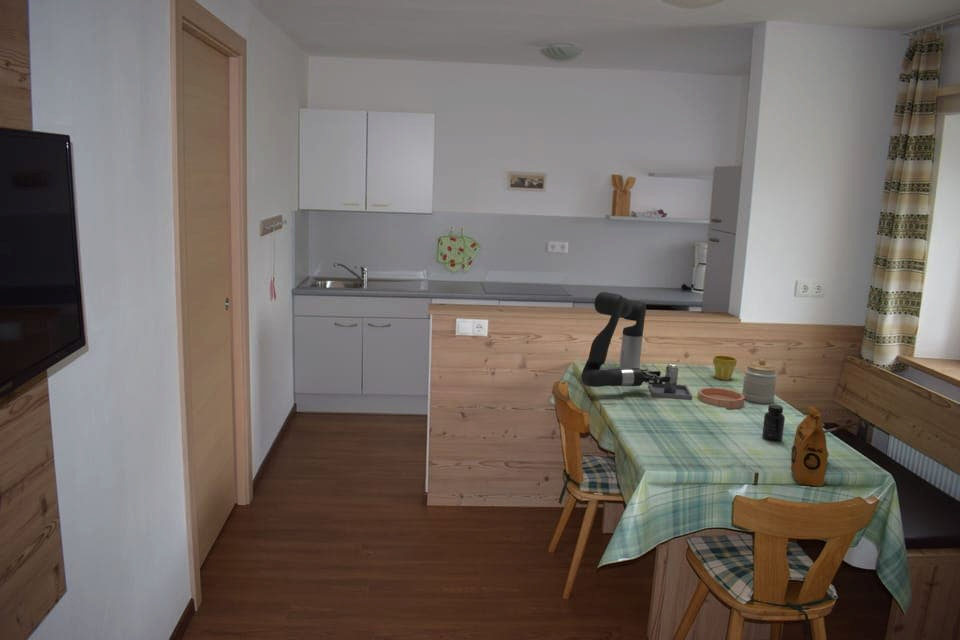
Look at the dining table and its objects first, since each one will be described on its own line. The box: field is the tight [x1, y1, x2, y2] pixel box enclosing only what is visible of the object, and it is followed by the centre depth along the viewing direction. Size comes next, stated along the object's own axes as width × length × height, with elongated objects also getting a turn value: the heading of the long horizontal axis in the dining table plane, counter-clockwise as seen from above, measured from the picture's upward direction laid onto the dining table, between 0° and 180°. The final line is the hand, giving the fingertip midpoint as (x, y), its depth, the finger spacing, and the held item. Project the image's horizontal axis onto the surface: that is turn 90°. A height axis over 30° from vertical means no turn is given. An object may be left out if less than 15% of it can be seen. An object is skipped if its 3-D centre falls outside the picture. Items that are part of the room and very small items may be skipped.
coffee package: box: [790, 405, 829, 488], centre depth 233 cm, size 10×12×22 cm
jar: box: [741, 358, 778, 404], centre depth 319 cm, size 13×13×18 cm
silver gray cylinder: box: [663, 363, 679, 394], centre depth 319 cm, size 5×5×12 cm
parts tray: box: [648, 382, 693, 401], centre depth 320 cm, size 16×16×2 cm
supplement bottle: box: [761, 404, 786, 442], centre depth 271 cm, size 7×7×12 cm
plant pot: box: [712, 354, 738, 381], centre depth 352 cm, size 10×10×10 cm
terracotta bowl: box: [696, 387, 746, 410], centre depth 313 cm, size 18×18×4 cm
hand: (664, 376), depth 318 cm, fingers open, 8 cm apart
